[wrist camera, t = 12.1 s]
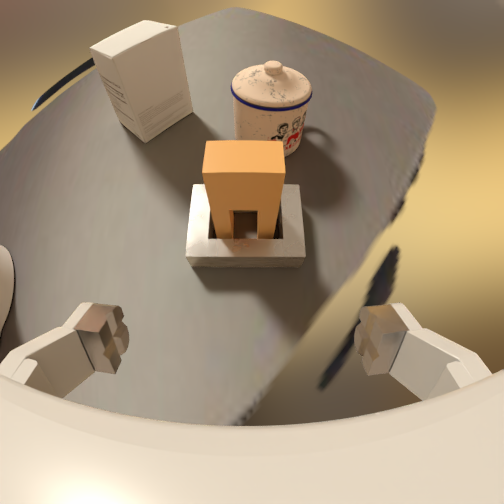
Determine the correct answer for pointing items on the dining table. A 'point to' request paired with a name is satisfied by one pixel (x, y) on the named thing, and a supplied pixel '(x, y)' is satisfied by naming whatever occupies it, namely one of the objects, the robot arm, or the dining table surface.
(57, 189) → the dining table surface
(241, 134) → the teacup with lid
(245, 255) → the rectangular frame block
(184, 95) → the supplement box
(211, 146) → the orange notched arch block
